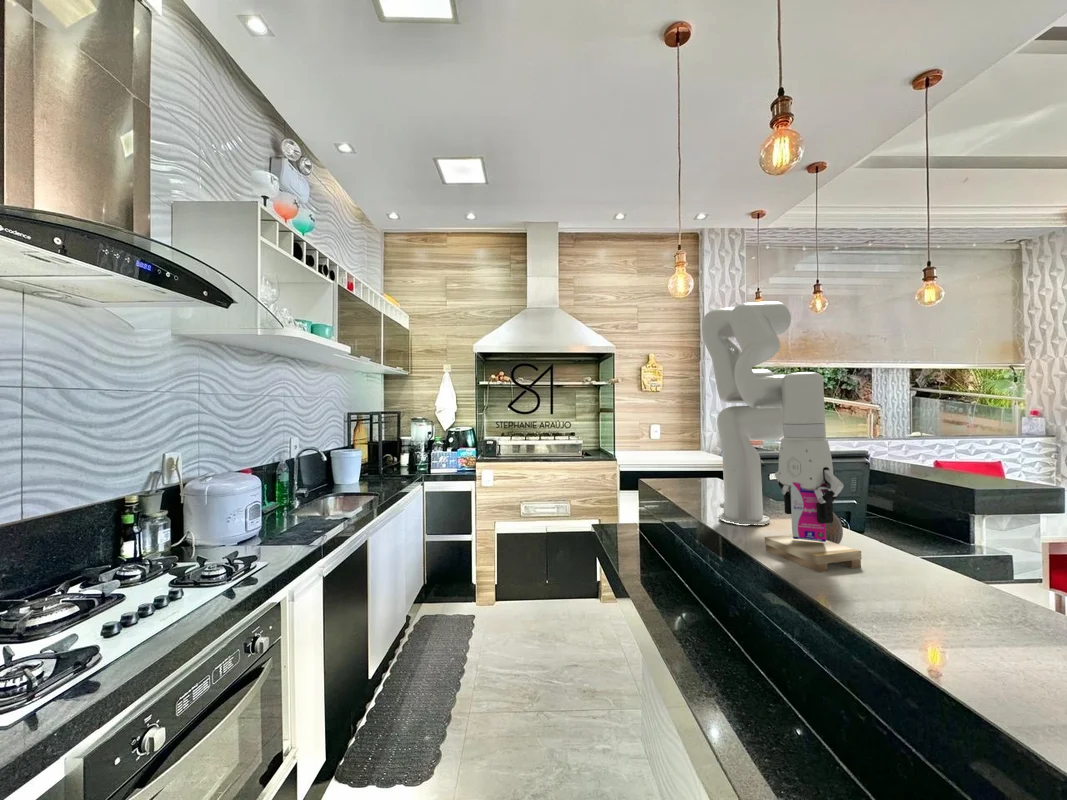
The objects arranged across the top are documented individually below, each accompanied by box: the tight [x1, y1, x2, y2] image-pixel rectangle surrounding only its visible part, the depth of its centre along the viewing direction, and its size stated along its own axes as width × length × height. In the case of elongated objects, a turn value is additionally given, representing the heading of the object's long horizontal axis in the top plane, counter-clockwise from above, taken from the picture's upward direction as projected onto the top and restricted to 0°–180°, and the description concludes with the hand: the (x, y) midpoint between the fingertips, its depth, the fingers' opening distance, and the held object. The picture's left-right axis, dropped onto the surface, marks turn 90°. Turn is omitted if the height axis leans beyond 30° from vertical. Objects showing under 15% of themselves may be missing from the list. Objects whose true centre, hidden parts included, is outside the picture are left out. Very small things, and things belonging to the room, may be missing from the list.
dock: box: [764, 533, 862, 573], centre depth 93 cm, size 14×10×3 cm
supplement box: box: [790, 482, 826, 542], centre depth 93 cm, size 6×6×12 cm
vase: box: [825, 512, 844, 544], centre depth 102 cm, size 7×7×9 cm
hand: (808, 517), depth 93 cm, fingers closed on supplement box, 7 cm apart
